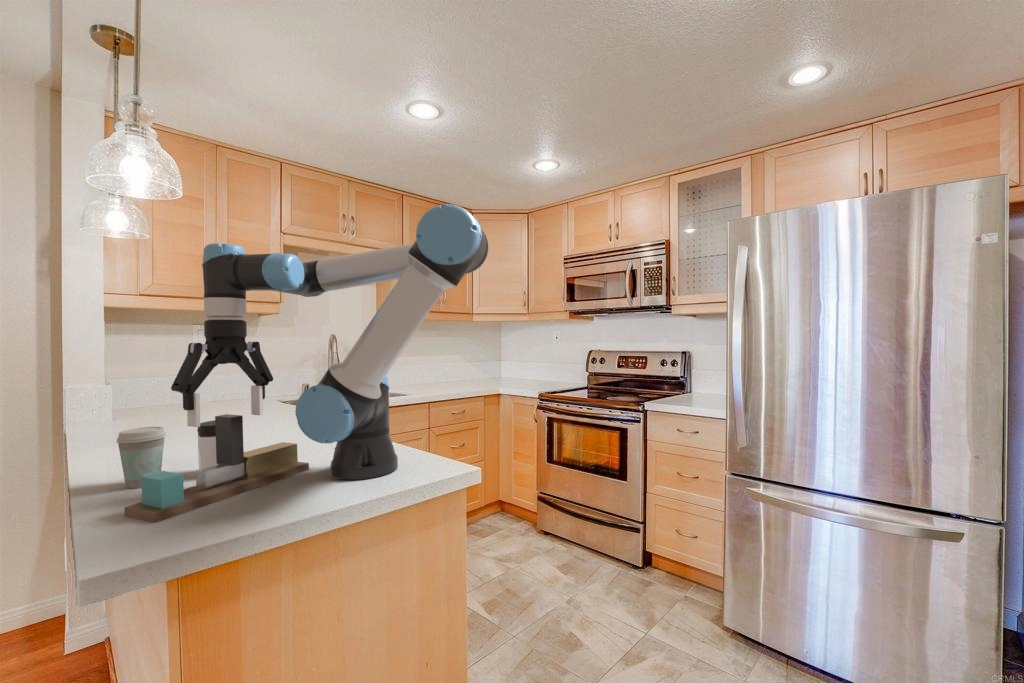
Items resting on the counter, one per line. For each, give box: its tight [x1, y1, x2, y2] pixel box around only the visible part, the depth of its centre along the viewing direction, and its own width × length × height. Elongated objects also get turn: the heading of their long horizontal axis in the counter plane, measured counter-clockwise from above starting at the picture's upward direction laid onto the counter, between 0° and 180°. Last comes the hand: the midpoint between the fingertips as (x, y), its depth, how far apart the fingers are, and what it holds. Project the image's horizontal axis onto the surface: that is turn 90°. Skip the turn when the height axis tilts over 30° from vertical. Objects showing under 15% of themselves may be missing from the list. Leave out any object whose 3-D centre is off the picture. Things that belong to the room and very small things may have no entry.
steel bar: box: [195, 413, 246, 487], centre depth 99 cm, size 20×5×13 cm, turn 157°
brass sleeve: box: [237, 441, 299, 480], centre depth 103 cm, size 13×5×5 cm, turn 157°
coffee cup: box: [115, 426, 167, 489], centre depth 100 cm, size 8×8×12 cm
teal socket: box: [141, 470, 185, 509], centre depth 83 cm, size 4×6×5 cm, turn 67°
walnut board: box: [123, 461, 310, 523], centre depth 95 cm, size 33×9×2 cm, turn 157°
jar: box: [197, 420, 218, 470], centre depth 107 cm, size 9×8×12 cm
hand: (227, 420), depth 95 cm, fingers open, 13 cm apart
